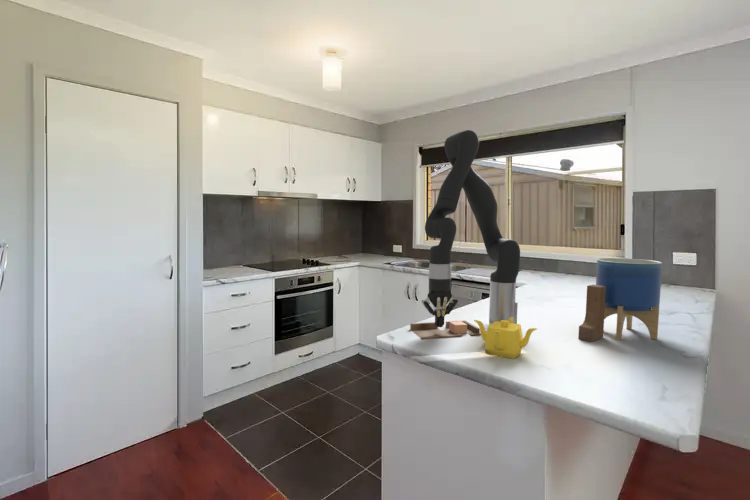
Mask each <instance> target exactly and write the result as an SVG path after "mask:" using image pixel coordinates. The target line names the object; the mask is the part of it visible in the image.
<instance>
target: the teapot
mask: <svg viewBox="0 0 750 500" xmlns="http://www.w3.org/2000/svg"><path fill="white" fill-rule="evenodd" d="M513 319H514V318H513V317H511V318H509V321H507V320H501V321H495V322H493V323H492V324H490V325H489V324H488V326H487V330H486V329H485V326H484V324H483V322H482V321H480V320H479V319H478V320H477V319H473V321H474V322H475V323H477V325H478V328H479V329H480V333H481V335H480V336H481V338H482V340H483V341H484V342H485V343H484V349H485V350H484V351H485V354H486V355H491V356H495V357H501V358H505V359H512V360H515V359H517V357H519V356H520V354H521V352H522V349H523V348H525V347H526V346H527V345H528V344H529V342H530V338H531V335H532V333H533V332H534V331H536V330H538V328H537V327H532V328H528V329H527V331H526V332H525V334H524V336H523V332H522V330H523V329H522V325H521V324H520V323H517V324H514V323H513Z"/></svg>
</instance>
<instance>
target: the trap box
mask: <svg viewBox="0 0 750 500" xmlns="http://www.w3.org/2000/svg"><path fill="white" fill-rule="evenodd" d="M455 321H456V320H450V321H449V320H448V321H445V328H446V329H440V328H439V327H437V326H436V325H435V321H432V322H431V321H430V322H428V321H427V322H414V323H413V322H411V323H409V325H410V326H409V328H410V331H412V332H413V333H414V334H415V335H416V336H418V337H419V338H420V339H421V340H431V339H432V340H433V339H446V338H447V339H449V338H461V337H463V336H462V333H460V334H454V333H453V332H451V331H450V330H449V322H455ZM461 321H462V322H464V323H465V324H467V333H466V334H467V335H469V336H470V337H477V336H479V337H480V336H481V333H480V327H479V326H477V325H474V324H472V323H470V322H469V321H467V320H463V319H462V320H461Z"/></svg>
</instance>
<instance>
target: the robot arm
mask: <svg viewBox="0 0 750 500" xmlns="http://www.w3.org/2000/svg"><path fill="white" fill-rule="evenodd" d="M479 147H480V139H479V135H477V133H476V132H475V131H474V130H473V129H472V130H471V129H465V130H461V131H459V132H457V133H455V134H452V135H450V136H448V137H446V138H445V140H444V152H445V154H446V157H447V159H448V161H449V163H450V164H451V165H450V166H451V167H452V168H451V169H450V171H449V173H448V174H447V175H446V177H445V179H444V181H443V182H442V184H441V187H440V189H439V191H438V194H437V200H436V202H435V203H436V204H435V205H434V206H433V207H432V210H431V211H430V213H429V215H428V216H427V218H426V221H425V224H424V232H425V234H426V236H427V237H428V238H431V239H440V241H439V243H438V244H437V245H433V246H431V247H430V248H429V266H428V293H427V297H426V298H425V299H422V300H421V304H422V305H423V306H424V308H425V309H426V310H427V311H428V312H429V314H430V315H432V316H434V322H435V325H436V326H437V327H438V328H443V327H444V326H445V316H446V315H450V313H451V312H452V311H453V309H454V308H455V306H456V305H457V303H458V302H459V300H458V299H457V298H454V297H453V294H452V275H453V274H452V266H451V265H452V264H451V260H452V259H451V258H452V257H451V255H452V249H453V245H454V244H453V243H454V240H455V237H456V233H457V225H456V222H455V220H454V219H453V218H451V217H446V216H448V215H452V214H454V213H455V212H456V210H457V208H458V203H459V199H460V196H461V191H462V190H463V192H464V194H465V196H466V199H467V202H468V204H469V206H470V209H471V211H472V213H473V216H474V218H475V221H476V223H477V226H478V229H479V230H480V234H481V236H482V239H483V244H484V248H485V250H486V251H485V252H486V253H487V256H488V257H489V259H491V261H492V262H496V263H497V267H496V270H495V271H493V272H491V274H490V277H489V279H490V281H489V310H488V311H489V313H488V326H489V325H490V324H492V323H493V322H495V321H501V320H507V321H509V318H511V317H513V318H514V319H513V323H514V324H518V306H519V305H518V302H517V301H516V295H517V294H516V291H517V290H516V289H517V277H518V275H519V271H520V263H521V262H520V260H521V248H520V245H519V243H518V242H517V241H516V240H514V239H511V238H504V237H503V235H502V234H501V232H500V229H499V226H498V221H497V220H498V202H497V199H496V196H495V195H494V194H495V193H494V191H493V190H492V187H491V186H490V184H488V182H487V181H486V180H485V179H484V178H482V176H480V175H479V174H478V172H476V171H475V170H474V168H473V167H472V165H473V162H474V160H475V157H476V155H477V154H478V151H479ZM431 305H432V306H433V308H432V306H431Z"/></svg>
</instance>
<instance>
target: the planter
mask: <svg viewBox="0 0 750 500" xmlns="http://www.w3.org/2000/svg"><path fill="white" fill-rule="evenodd" d="M662 269H663V262H662V261H658V260H653V259H640V258H626V257H625V258H624V257H623V258H622V257H602V258H597V259H596V276H595V277H596V278H595V285H601V286H606V294H605V312H604V320H606V319H607V318H608V317H610V316H612V315H616V314H617V317H616V330H615V331H616V333H615V340H619V341H621V340H622V339H623V337H622V336H623V330H624V323H625V320H626V330H630V331H631V330H632V327H633V318H636V319H638V320H639V321H641V322H642V323H643V324H644V326H645V327H646V329H647V330H648V333H649V339H650V340H654V339H657V340H658V335H659V334H658V333H659V332H658V331H659V322H660V321H659V320H660V319H659V317H660V302H661V287H662V273H663V272H662Z"/></svg>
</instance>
